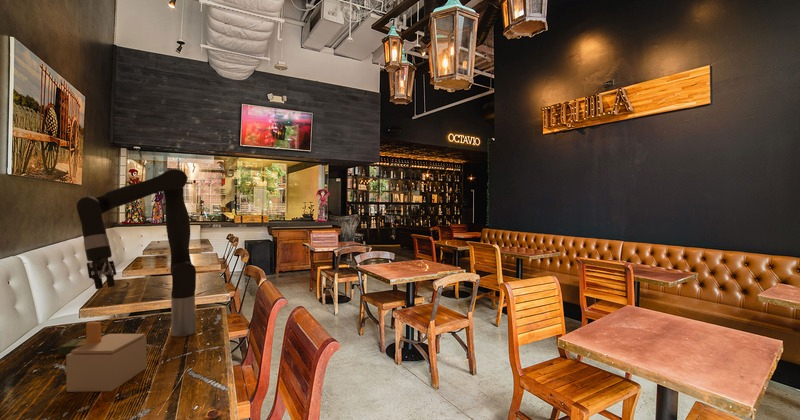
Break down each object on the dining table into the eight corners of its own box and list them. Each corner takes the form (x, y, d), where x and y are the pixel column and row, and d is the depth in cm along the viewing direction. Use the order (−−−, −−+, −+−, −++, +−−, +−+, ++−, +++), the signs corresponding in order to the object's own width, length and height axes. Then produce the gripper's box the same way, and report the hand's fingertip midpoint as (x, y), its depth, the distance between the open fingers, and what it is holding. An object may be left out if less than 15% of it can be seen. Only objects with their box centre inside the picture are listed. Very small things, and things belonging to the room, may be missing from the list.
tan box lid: (145, 335, 128) (145, 315, 128) (112, 353, 113) (112, 330, 113) (105, 336, 128) (105, 315, 128) (67, 353, 113) (67, 330, 113)
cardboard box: (146, 368, 129) (146, 336, 129) (111, 391, 113) (111, 354, 113) (107, 368, 129) (106, 336, 129) (66, 391, 113) (66, 355, 113)
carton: (104, 354, 142) (104, 343, 142) (57, 357, 139) (57, 346, 139) (117, 345, 150) (116, 335, 150) (73, 348, 147) (72, 338, 147)
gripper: (98, 244, 134) (107, 286, 133) (117, 245, 148) (125, 283, 147) (74, 249, 132) (83, 292, 131) (96, 249, 146) (104, 288, 145)
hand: (105, 287), depth 139 cm, fingers open, 8 cm apart
